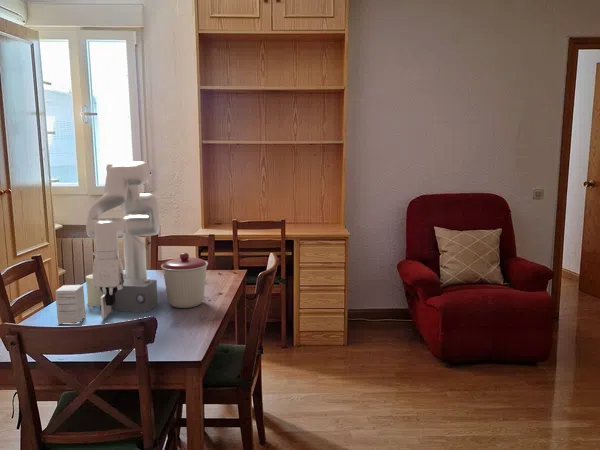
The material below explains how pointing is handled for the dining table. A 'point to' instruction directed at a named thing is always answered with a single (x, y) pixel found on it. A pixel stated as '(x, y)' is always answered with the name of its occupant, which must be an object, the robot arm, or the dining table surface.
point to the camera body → (136, 296)
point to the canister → (185, 281)
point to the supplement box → (70, 304)
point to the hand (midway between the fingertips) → (110, 304)
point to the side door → (104, 307)
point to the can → (93, 292)
